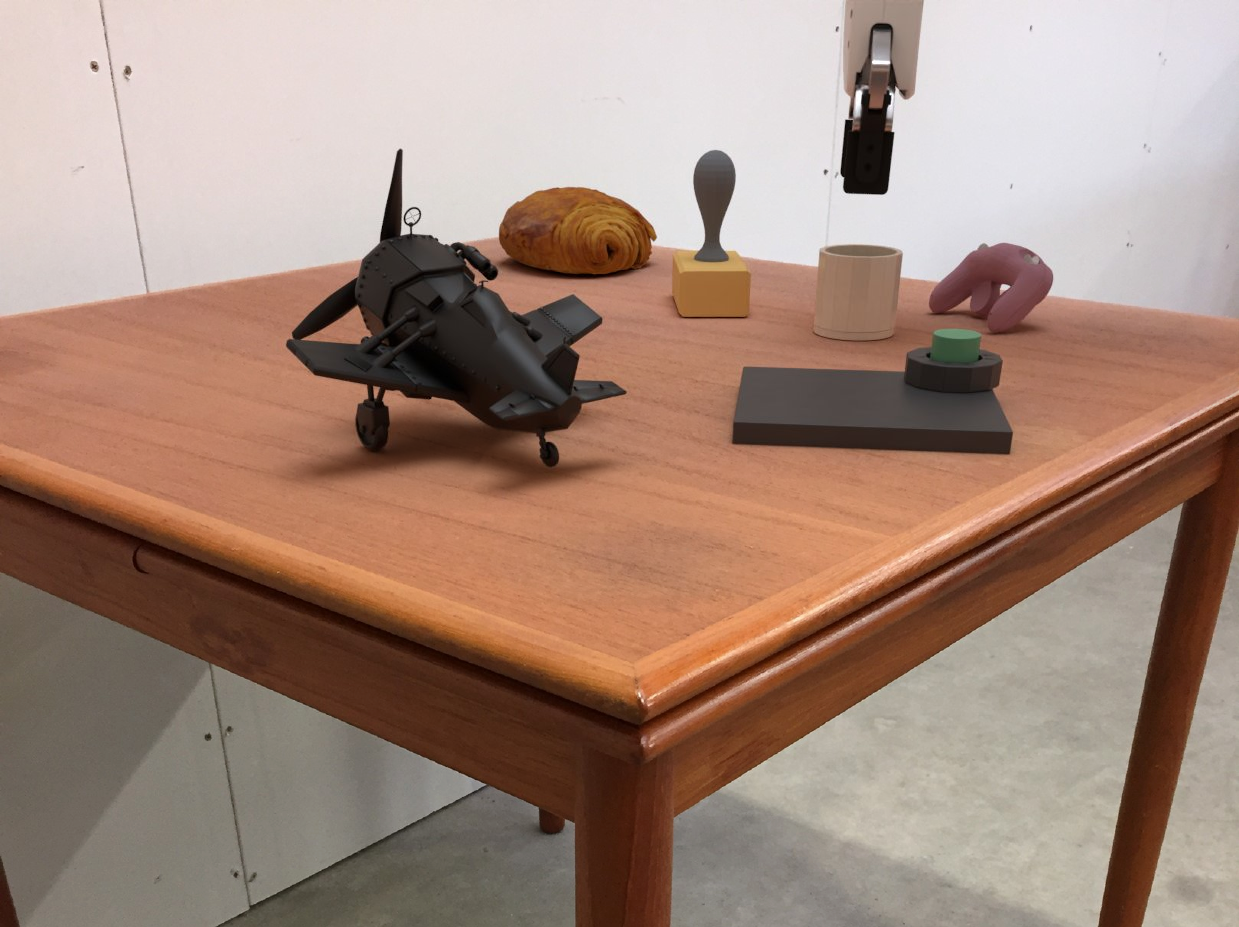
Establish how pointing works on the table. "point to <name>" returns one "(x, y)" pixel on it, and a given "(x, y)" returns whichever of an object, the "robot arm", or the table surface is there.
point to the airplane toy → (451, 338)
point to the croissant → (576, 232)
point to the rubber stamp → (712, 250)
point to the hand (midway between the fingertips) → (862, 185)
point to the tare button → (955, 345)
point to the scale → (877, 407)
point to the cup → (857, 292)
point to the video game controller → (995, 284)
